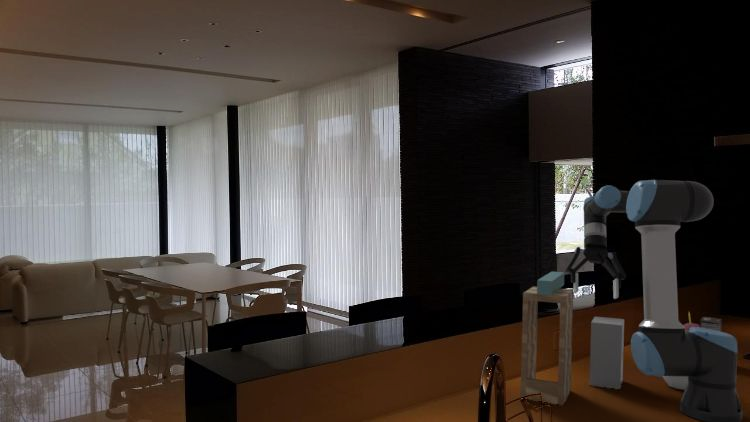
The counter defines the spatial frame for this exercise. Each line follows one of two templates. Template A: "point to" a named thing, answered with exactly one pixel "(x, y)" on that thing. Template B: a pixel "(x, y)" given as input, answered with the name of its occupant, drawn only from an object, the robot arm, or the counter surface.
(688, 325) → the cupcake
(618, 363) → the stone block
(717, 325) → the coffee box
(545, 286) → the teal block
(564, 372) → the wooden stool frame
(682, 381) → the lidded bowl
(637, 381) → the counter surface
